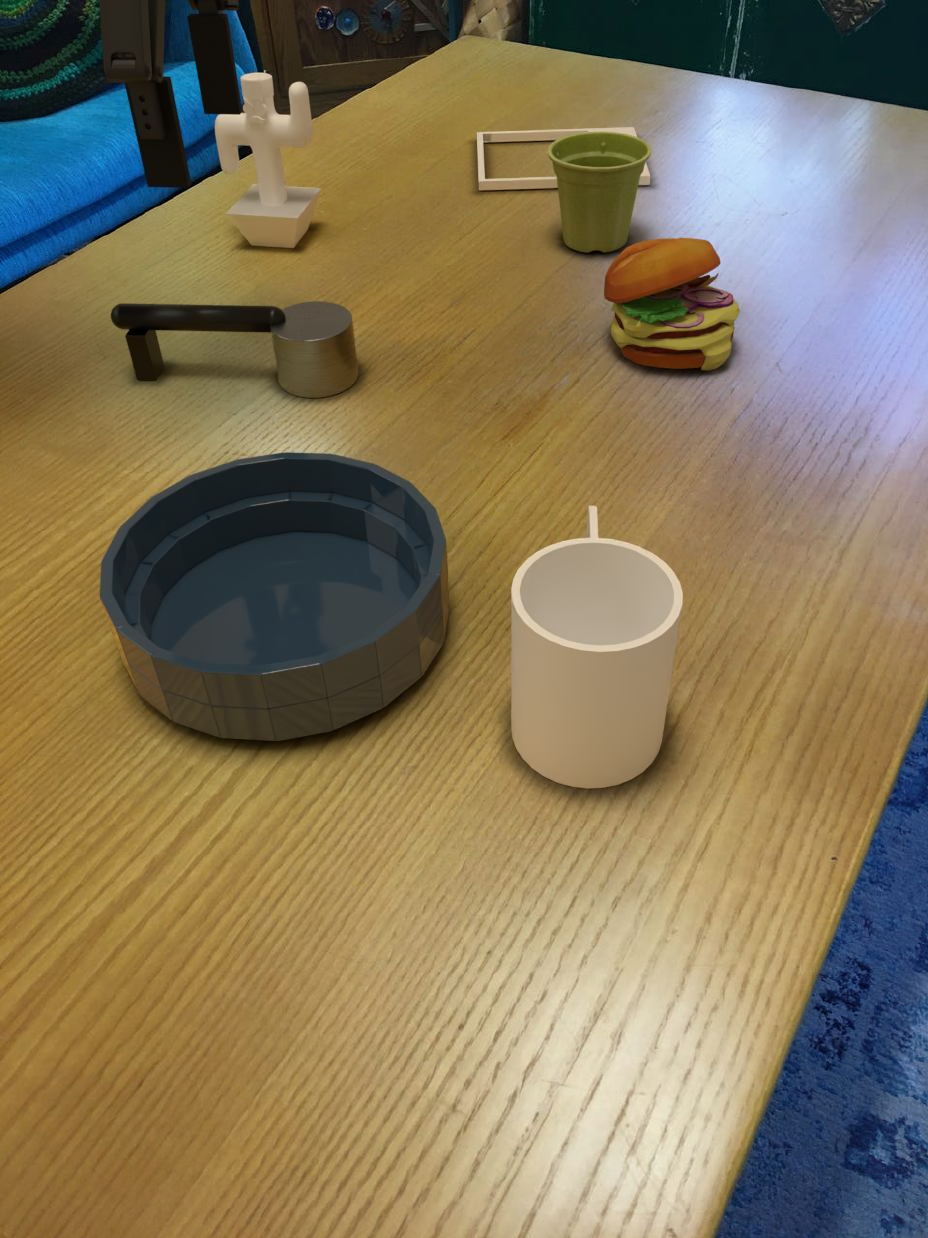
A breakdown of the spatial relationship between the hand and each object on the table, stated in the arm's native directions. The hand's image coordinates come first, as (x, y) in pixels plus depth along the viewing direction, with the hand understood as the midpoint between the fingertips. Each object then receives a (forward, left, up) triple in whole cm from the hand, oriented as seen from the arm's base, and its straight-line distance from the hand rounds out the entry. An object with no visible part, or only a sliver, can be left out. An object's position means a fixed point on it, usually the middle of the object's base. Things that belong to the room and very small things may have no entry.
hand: (198, 147), depth 74 cm
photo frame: (+24, +46, -18) cm, 55 cm away
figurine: (-3, +26, -18) cm, 32 cm away
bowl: (+10, -29, -18) cm, 36 cm away
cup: (+28, -34, -18) cm, 48 cm away
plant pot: (+28, +26, -18) cm, 42 cm away
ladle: (0, 0, -18) cm, 18 cm away
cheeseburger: (+34, +6, -18) cm, 39 cm away
